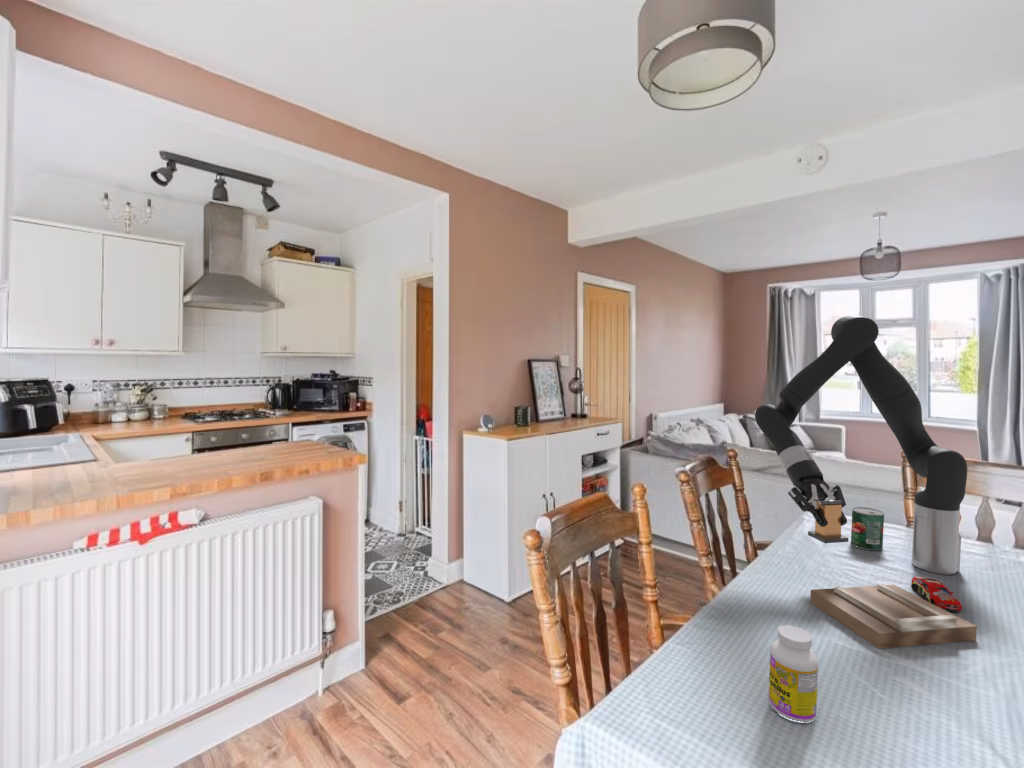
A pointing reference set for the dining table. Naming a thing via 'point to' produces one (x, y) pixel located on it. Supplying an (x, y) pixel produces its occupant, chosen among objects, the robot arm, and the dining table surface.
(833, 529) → the block with metal roller
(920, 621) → the dock
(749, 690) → the dining table surface
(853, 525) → the canned tomato
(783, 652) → the supplement bottle
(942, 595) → the race car
